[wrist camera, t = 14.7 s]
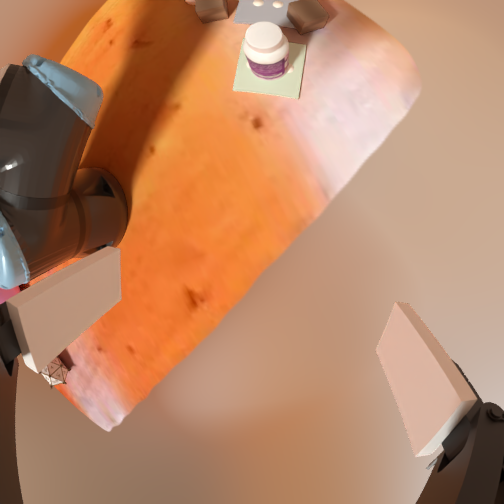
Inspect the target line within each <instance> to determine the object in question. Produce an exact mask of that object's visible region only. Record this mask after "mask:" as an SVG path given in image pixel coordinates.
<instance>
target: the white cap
mask: <svg viewBox="0 0 504 504" xmlns="http://www.w3.org/2000/svg"><path fill="white" fill-rule="evenodd" d="M185 2H186V3H187V4H190V5H195V0H185Z"/></svg>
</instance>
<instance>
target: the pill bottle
mask: <svg viewBox="0 0 504 504" xmlns="http://www.w3.org/2000/svg"><path fill="white" fill-rule="evenodd" d="M243 50H244V53H245V55H246V58H247V60H248V63H249V66H250V69H251V71H252V73H253V74H254V75H255V76H256V77H257V78H259V79H261V80H264V81H274V80H278V79H280V78H282V77H283V76H284V75H285V74H286V72H287V70H288V67H289V42H288V40H287V38H286V36H285V35H284V34H283V33H282V31H281V29H280V28H279V26H277V25H276V24H274V23H271V22H265V21H263V22H257V23H255V24H253V25H251V26H250V27H249V28H248V29H247V31H246V34H245V40H244V42H243Z"/></svg>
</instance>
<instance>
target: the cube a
mask: <svg viewBox="0 0 504 504" xmlns="http://www.w3.org/2000/svg"><path fill="white" fill-rule="evenodd" d="M195 12H196V14H197V15H198V17H199V18H200V20H201V21H202V23H208V22H212V21H217V20H222V19H228V8H227V1H226V0H195Z"/></svg>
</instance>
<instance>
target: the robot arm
mask: <svg viewBox="0 0 504 504" xmlns="http://www.w3.org/2000/svg"><path fill="white" fill-rule="evenodd" d="M22 64H23V66H19V65H13V64H7V65H6V66H4V67H3V68H1V69H0V288H2V289H12V288H14V287H16V286H18V285H21V284H25V283H28V282H29V281H31V280H32V279H34V278H36V277H38V276H39V275H41V274H43V273H45V272H47V271H49V270H50V269H52V268H54V267H56V266H58V265H60V264H62V263H64V262H66V261H67V260H69V259H71V258H83V259H81V260H79V261H77V262H75V263H73V264H71V265H69V266H67V267H65V268H63V269H61V270H59V271H58V272H56V273H54V274H52V275H50V276H48V277H46V278H44V279H43V280H41V281H39V282H37V283H35V284H34V285H32V286H30V287H28V288H27V289H25V290H23V291H21V292H20V293H18V294H16V295H14V296H13V297H11V298H9V299H8V300H6V301H5V302H3V303H2V304H0V504H23V500H22V494H21V489H20V483H19V476H18V467H17V457H16V443H15V402H16V386H17V375H18V366H19V363H18V359H17V356H18V355H19V354H20V353H22V356H23V359H24V362H25V364H26V366H28V367H29V368H31V369H32V370H34V371H35V372H37V373H39V372H41V371H42V370H43V369H44V368H45V367H46V366H47V365H48V364H49V363H50V362H51V361H52V360H53V359H54V358H55V357H57V356H58V355H59V354H60V353H61V352H62V351H63V350H64V349H65V348H66V347H68V346H69V345H70V344H71V343H72V342H73V341H74V340H75V339H76V338H78V337H79V336H80V335H81V334H82V333H83V332H84V331H85V330H87V329H88V328H89V327H90V326H91V325H92V324H93V323H95V322H96V321H97V320H98V319H99V318H100V317H101V316H103V315H104V314H105V313H106V312H107V311H108V310H110V309H111V308H112V307H113V306H114V305H116V304H117V303H118V302H119V301H120V300H122V298H121V272H120V249H119V248H115V247H117V245H118V244H119V243H120V241H121V240H122V238H123V235H124V233H125V230H126V225H127V216H128V213H127V203H126V199H125V195H124V192H123V190H122V188H121V186H120V184H119V183H118V181H117V180H116V179H115V177H114V176H113V175H112V174H110V173H109V172H108V171H106V170H104V169H101V168H97V167H90V168H82V169H78V166H79V163H80V160H81V157H82V154H83V151H84V148H85V146H86V143H87V140H88V138H89V135H90V133H91V130H92V129H93V128H94V126H95V124H94V123H95V120H96V117H97V114H98V112H99V109H100V106H101V104H102V101H103V91H102V89H101V87H100V86H99V85H98V84H97V83H95V82H94V81H92V80H91V79H89V78H87V77H86V76H84V75H82V74H80V73H78V72H76V71H74V70H72V69H70V68H68V67H66V66H64V65H62V64H59V63H57V62H55V61H52V60H47V59H46V58H42V57H40V56H38V55H34V54H32V55H29V56H27V58H26V59H25V60H23V63H22ZM376 352H377V354H378V357H379V360H380V362H381V364H382V367H383V369H384V372H385V374H386V377H387V379H388V382H389V384H390V387H391V389H392V392H393V395H394V397H395V400H396V402H397V405H398V408H399V411H400V414H401V416H402V419H403V422H404V425H405V428H406V431H407V434H408V437H409V440H410V443H411V446H412V449H413V452H414V456H415V457H418V456H423V455H429V454H432V453H433V452H434V451H435V450H436V449H437V448H438V447H439V446H440V445H441V444H442V446H443V448H444V451H443V452H442V453H441V454H440V455H439V456H438V457H437V458H436V459H435V460H434V461H433V462H432V463H430V464H429V466H428V467H427V469H430V468H431V467H432V466H433V465H435V466H434V468H433V470H432V473H431V475H430V477H429V479H428V481H427V483H426V485H425V487H424V489H423V491H422V493H421V495H420V497H419V499H418V501H417V502H416V504H504V411H503V410H502V409H501V408H500V407H499V406H498V405H496V404H494V403H491V402H487V403H483V402H482V400H481V398H480V397H479V395H478V394H477V392H476V391H475V389H474V388H473V386H472V384H471V383H470V382H468V379H467V377H466V376H465V375H464V373H463V372H462V370H461V368H460V367H459V366H458V364H456V363H455V362H454V361H453V360H452V359H450V357H449V356H448V354H447V353H446V352H445V350H444V349H443V347H442V346H441V345H440V343H439V342H438V341H437V339H436V338H435V337H434V336H433V334H432V333H431V331H430V330H429V329H428V327H427V326H426V325H425V324H424V322H423V321H422V320H421V318H420V317H419V316H418V315H417V314H416V312H415V311H414V310H413V308H412V307H411V306H410V305H409V304H408V303H400V302H395V304H394V306H393V309H392V312H391V314H390V317H389V320H388V322H387V324H386V327H385V329H384V332H383V334H382V336H381V339H380V341H379V343H378V346H377V348H376Z"/></svg>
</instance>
